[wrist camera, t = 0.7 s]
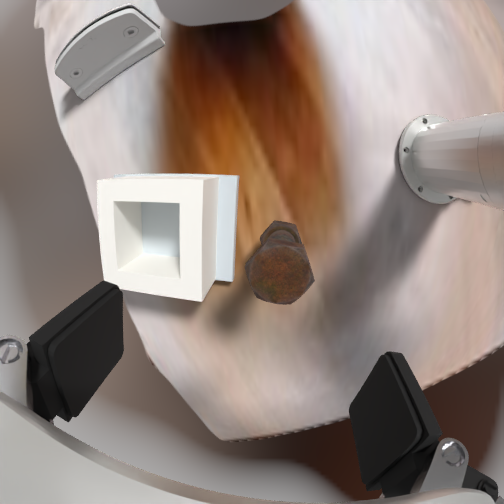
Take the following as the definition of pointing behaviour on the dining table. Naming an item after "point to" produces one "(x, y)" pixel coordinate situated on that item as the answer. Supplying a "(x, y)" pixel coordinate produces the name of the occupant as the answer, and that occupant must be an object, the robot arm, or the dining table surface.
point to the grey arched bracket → (107, 48)
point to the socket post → (168, 232)
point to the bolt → (280, 265)
